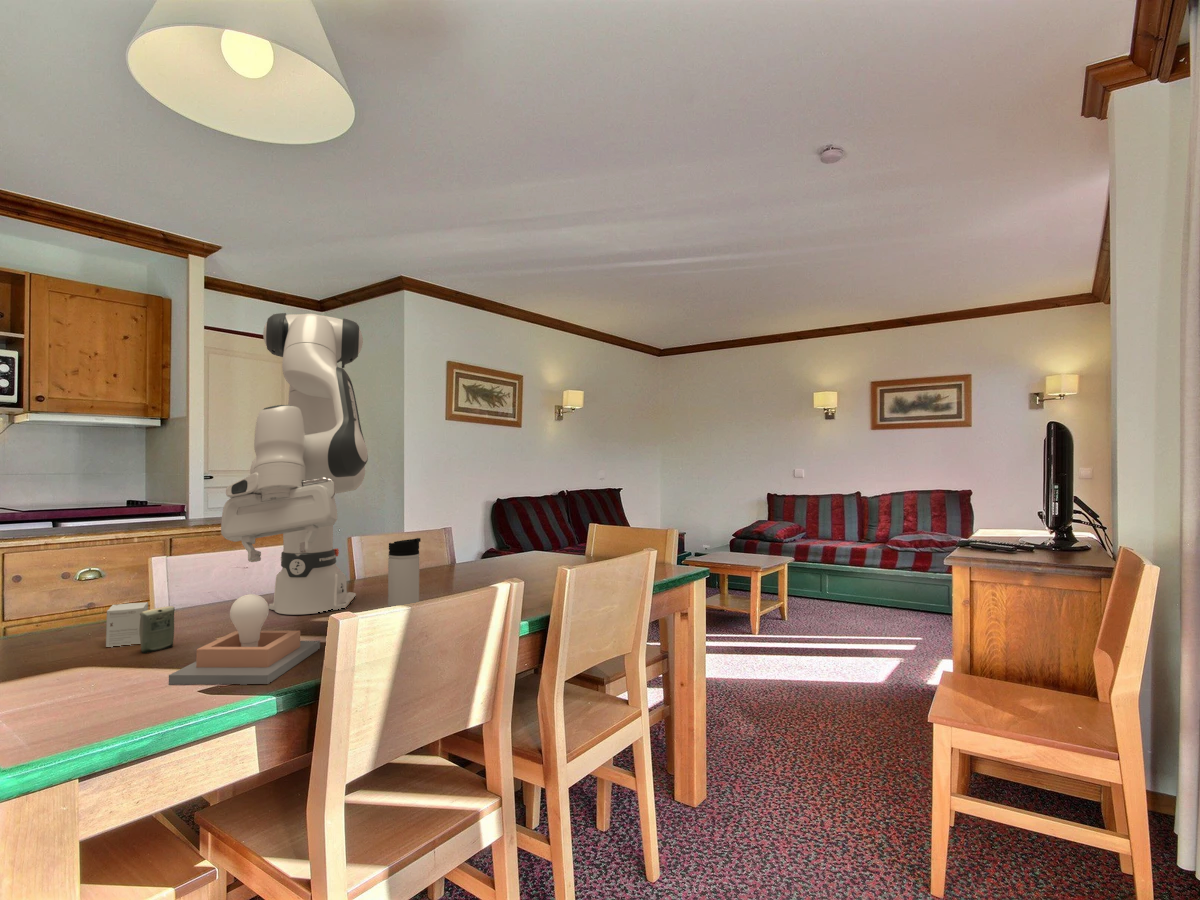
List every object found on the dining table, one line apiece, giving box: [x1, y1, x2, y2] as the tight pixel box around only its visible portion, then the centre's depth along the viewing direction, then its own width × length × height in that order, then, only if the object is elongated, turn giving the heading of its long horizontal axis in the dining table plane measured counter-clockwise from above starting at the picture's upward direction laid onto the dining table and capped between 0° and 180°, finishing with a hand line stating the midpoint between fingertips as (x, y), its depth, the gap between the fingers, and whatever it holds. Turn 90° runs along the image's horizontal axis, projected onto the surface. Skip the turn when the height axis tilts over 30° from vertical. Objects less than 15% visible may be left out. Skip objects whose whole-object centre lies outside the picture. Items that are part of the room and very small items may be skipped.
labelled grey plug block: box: [139, 605, 176, 654], centre depth 124 cm, size 6×5×8 cm
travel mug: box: [387, 537, 422, 608], centre depth 136 cm, size 6×7×20 cm
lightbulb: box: [229, 593, 270, 647], centre depth 115 cm, size 6×6×11 cm
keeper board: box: [168, 630, 321, 686], centre depth 115 cm, size 20×16×4 cm
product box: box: [105, 601, 149, 648], centre depth 129 cm, size 6×6×7 cm
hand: (280, 556), depth 118 cm, fingers open, 8 cm apart
